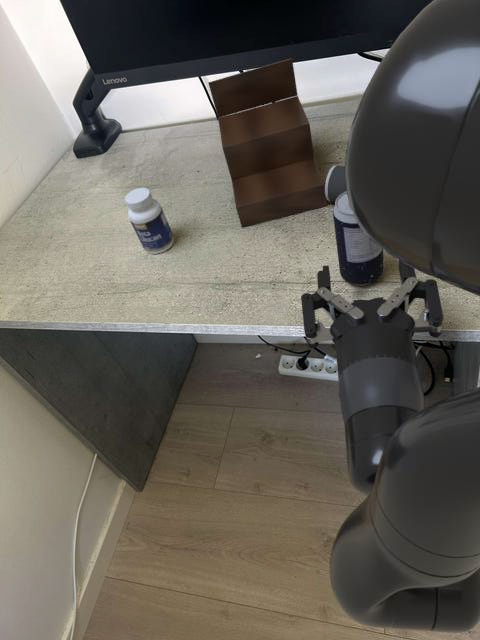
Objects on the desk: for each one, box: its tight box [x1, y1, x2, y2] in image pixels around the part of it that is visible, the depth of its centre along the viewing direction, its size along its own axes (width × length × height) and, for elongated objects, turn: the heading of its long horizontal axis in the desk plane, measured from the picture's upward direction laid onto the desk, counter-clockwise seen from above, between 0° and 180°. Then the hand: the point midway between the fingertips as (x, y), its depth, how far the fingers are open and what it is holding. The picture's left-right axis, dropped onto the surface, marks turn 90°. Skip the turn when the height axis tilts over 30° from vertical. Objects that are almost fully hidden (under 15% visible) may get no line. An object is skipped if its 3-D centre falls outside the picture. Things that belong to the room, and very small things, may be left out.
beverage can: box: [332, 191, 385, 286], centre depth 61 cm, size 6×6×12 cm
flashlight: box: [324, 164, 347, 203], centre depth 72 cm, size 15×5×5 cm, turn 59°
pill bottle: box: [124, 187, 175, 255], centre depth 78 cm, size 5×5×10 cm
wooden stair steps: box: [207, 57, 328, 228], centre depth 79 cm, size 14×19×16 cm
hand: (363, 266), depth 57 cm, fingers open, 8 cm apart
